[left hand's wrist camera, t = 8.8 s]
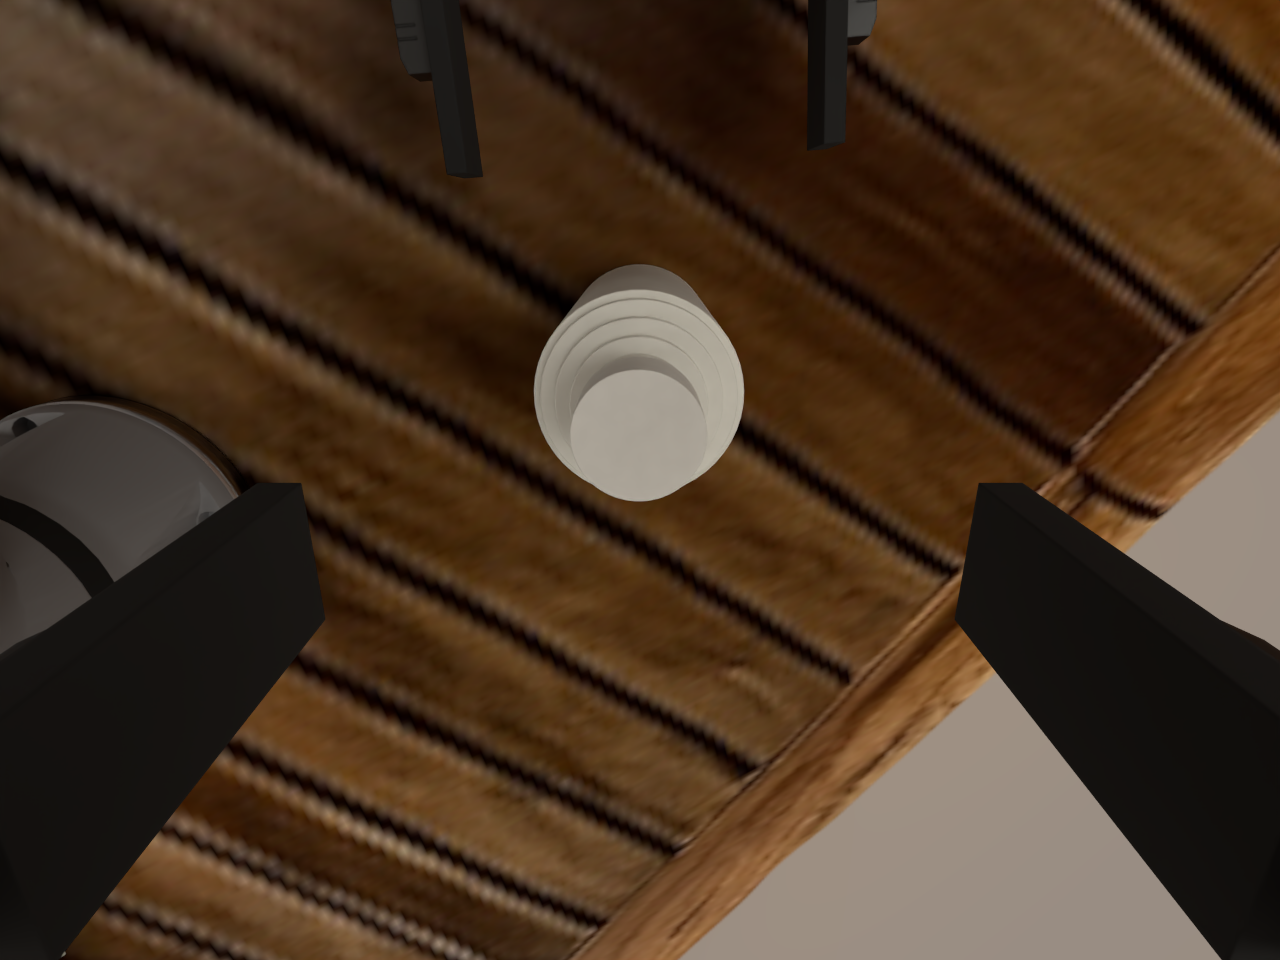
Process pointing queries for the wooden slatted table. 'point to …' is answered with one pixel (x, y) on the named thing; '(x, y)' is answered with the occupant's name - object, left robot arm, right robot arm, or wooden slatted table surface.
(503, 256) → the wooden slatted table surface
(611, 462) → the cap
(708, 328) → the bottle
